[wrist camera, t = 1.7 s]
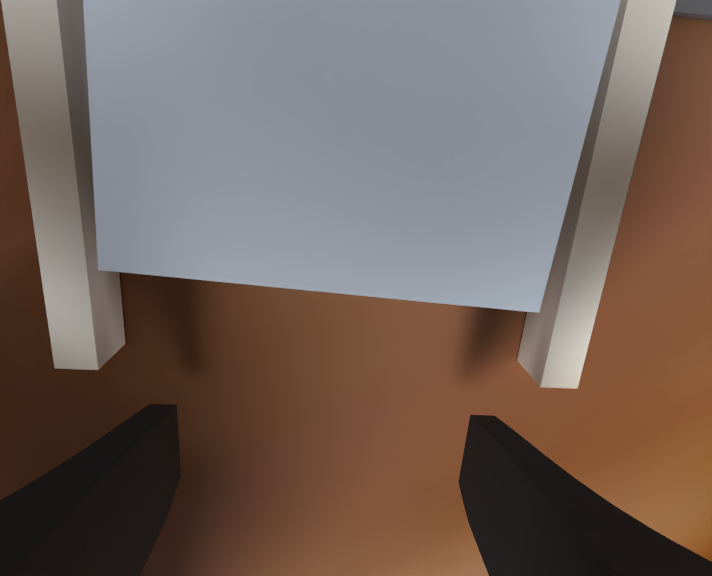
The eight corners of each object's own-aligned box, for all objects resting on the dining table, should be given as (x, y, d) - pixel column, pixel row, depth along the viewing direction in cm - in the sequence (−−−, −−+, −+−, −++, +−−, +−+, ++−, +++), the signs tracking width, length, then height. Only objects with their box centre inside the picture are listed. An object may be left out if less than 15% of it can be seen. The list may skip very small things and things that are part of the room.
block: (474, 260, 12) (539, 312, 8) (174, 228, 11) (97, 270, 8) (525, 13, 10) (636, -63, 7) (174, -43, 10) (73, -164, 6)
